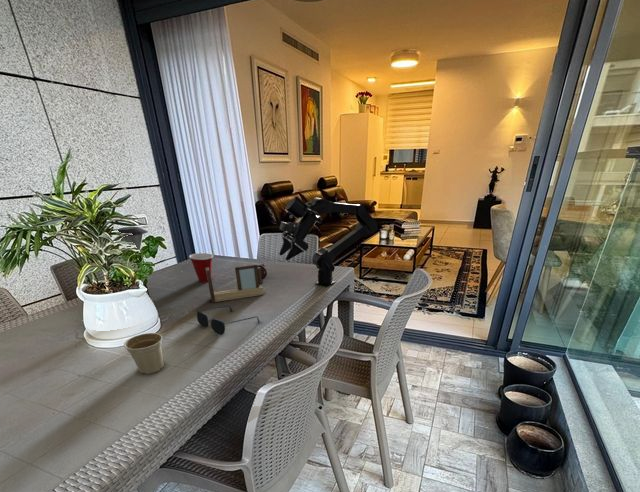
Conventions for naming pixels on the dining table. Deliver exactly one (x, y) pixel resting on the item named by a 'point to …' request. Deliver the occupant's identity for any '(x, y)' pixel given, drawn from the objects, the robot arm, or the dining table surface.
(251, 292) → the wooden display stand
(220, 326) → the sunglasses
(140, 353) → the flower pot
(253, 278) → the brown picture frame
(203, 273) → the plastic cup
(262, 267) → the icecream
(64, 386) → the dining table surface
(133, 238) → the solar garden light
